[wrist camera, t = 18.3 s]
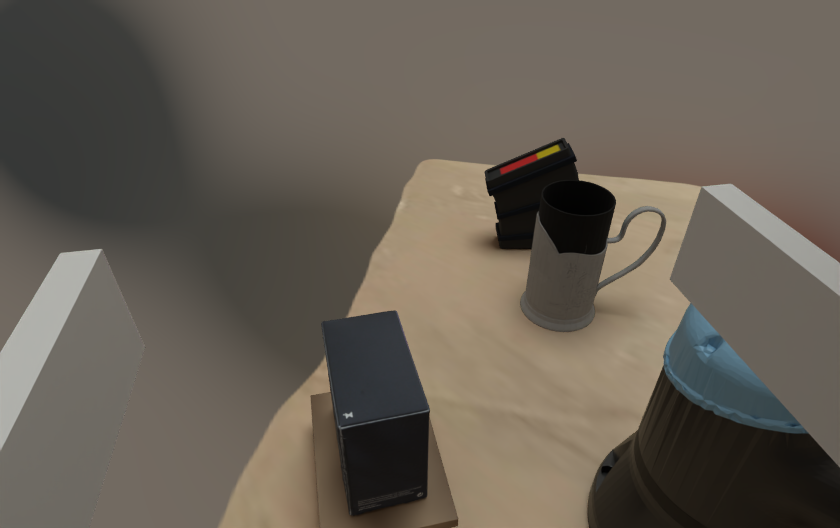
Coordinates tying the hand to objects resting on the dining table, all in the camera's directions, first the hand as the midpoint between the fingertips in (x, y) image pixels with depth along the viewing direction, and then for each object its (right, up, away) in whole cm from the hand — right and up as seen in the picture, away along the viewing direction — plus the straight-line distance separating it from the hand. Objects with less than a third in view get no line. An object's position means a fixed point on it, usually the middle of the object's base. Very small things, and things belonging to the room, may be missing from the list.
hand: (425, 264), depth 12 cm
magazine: (+15, +3, +63) cm, 65 cm away
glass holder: (+19, -5, +52) cm, 56 cm away
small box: (-3, -15, +32) cm, 36 cm away
